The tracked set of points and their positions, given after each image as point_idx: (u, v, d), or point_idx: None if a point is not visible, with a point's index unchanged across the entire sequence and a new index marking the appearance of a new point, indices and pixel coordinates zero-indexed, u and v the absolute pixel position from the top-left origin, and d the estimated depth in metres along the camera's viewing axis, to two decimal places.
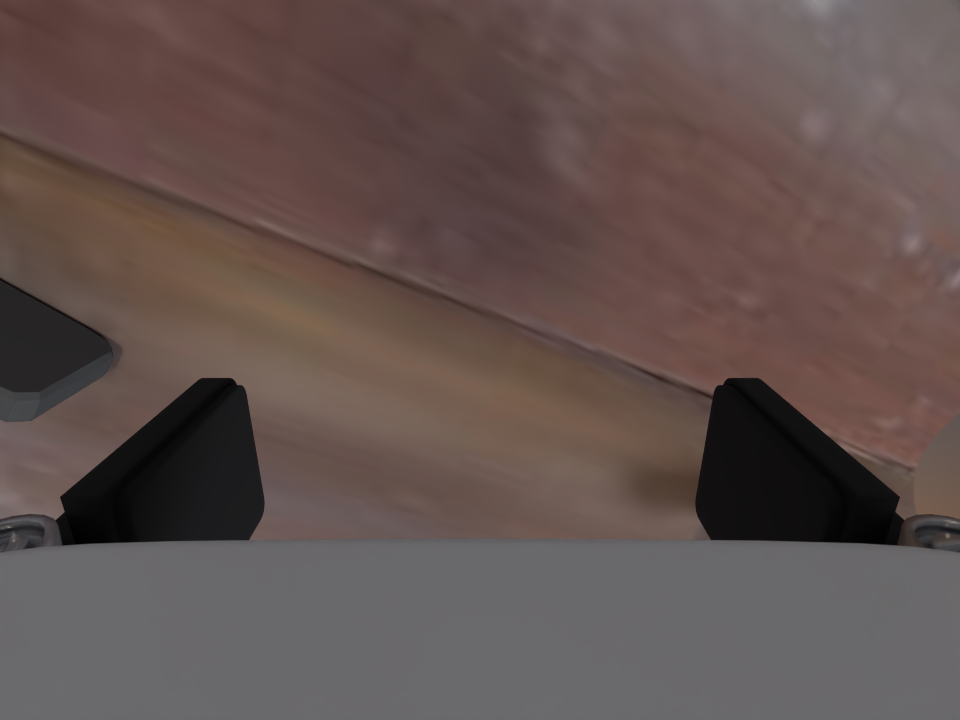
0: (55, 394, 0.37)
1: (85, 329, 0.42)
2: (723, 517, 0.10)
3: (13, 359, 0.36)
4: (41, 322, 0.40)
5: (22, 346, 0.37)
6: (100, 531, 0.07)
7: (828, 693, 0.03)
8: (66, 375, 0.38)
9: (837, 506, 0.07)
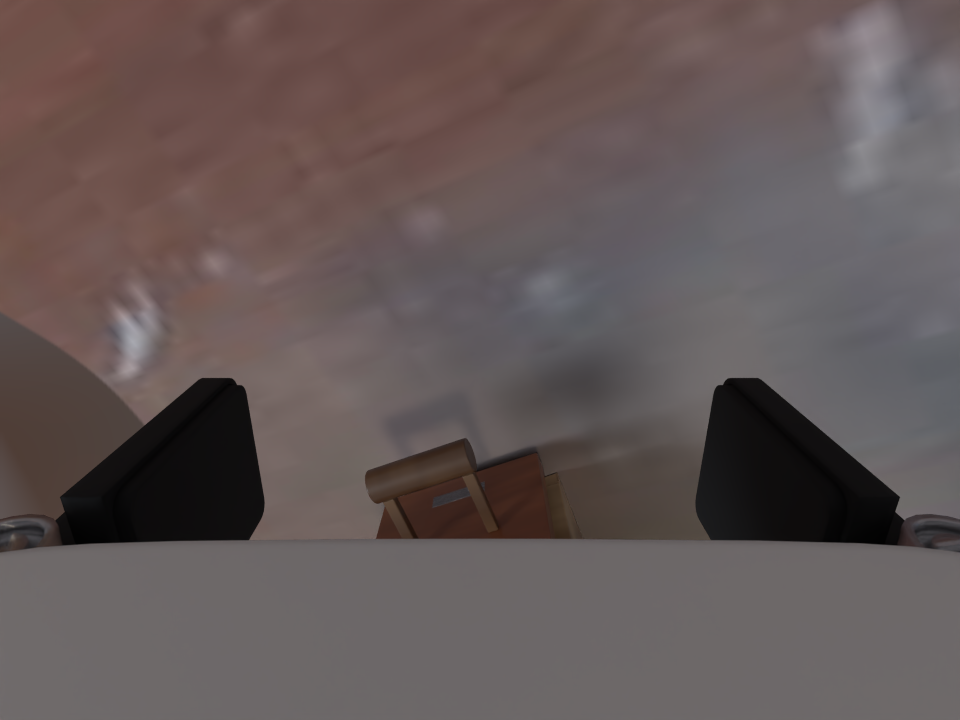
0: None
1: None
2: (723, 517, 0.10)
3: None
4: None
5: None
6: (100, 531, 0.07)
7: (828, 693, 0.03)
8: None
9: (837, 506, 0.07)
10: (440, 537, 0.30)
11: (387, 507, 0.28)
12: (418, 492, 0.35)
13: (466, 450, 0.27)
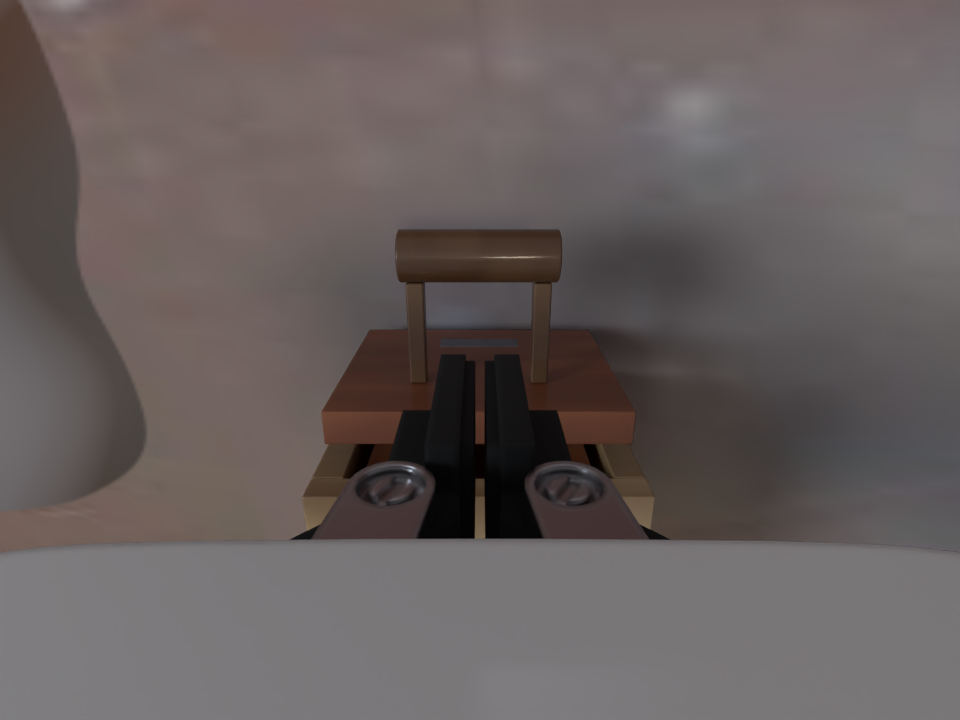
0: None
1: None
2: None
3: None
4: None
5: None
6: (451, 476, 0.08)
7: (827, 693, 0.03)
8: None
9: (492, 455, 0.08)
10: None
11: (409, 293, 0.19)
12: None
13: None
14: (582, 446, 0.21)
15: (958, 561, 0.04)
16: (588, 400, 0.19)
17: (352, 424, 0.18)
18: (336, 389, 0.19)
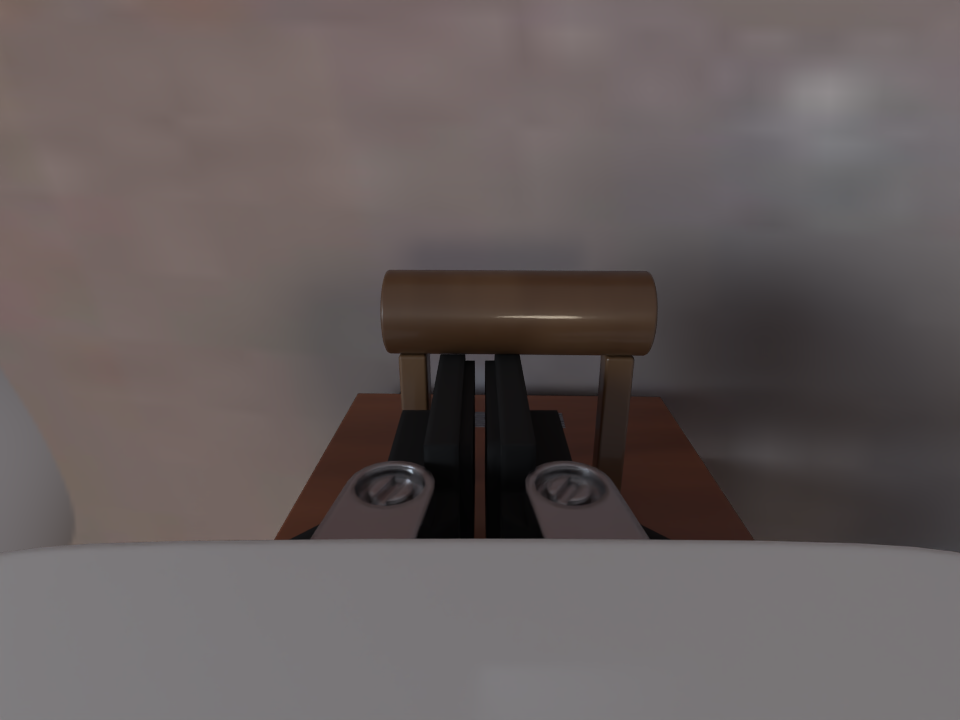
0: None
1: None
2: None
3: None
4: None
5: None
6: (450, 476, 0.08)
7: (828, 693, 0.03)
8: None
9: (492, 455, 0.08)
10: (475, 483, 0.14)
11: (404, 371, 0.12)
12: None
13: None
14: None
15: (959, 561, 0.04)
16: None
17: None
18: (291, 514, 0.12)
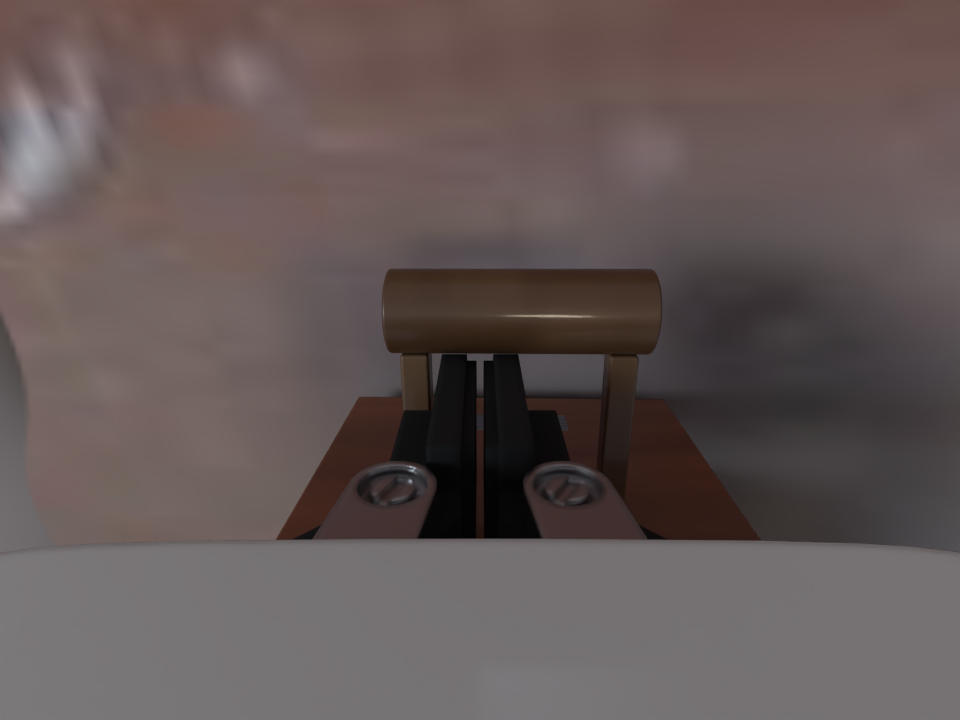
0: None
1: None
2: None
3: None
4: None
5: None
6: (452, 476, 0.08)
7: (828, 693, 0.03)
8: None
9: (491, 455, 0.08)
10: (478, 485, 0.13)
11: (405, 371, 0.12)
12: None
13: None
14: None
15: (958, 561, 0.04)
16: None
17: None
18: (291, 517, 0.12)
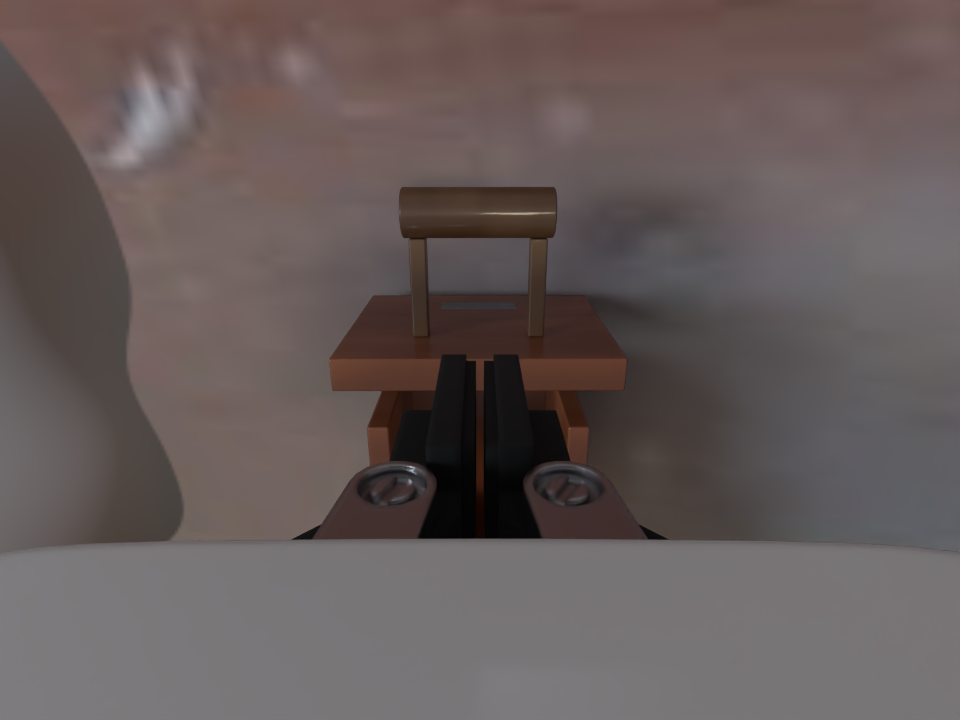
0: None
1: None
2: None
3: None
4: None
5: None
6: (452, 476, 0.08)
7: (828, 693, 0.03)
8: None
9: (491, 455, 0.08)
10: (455, 329, 0.22)
11: (411, 249, 0.20)
12: None
13: None
14: (578, 400, 0.22)
15: (959, 561, 0.04)
16: (582, 349, 0.19)
17: (358, 371, 0.19)
18: (342, 341, 0.20)
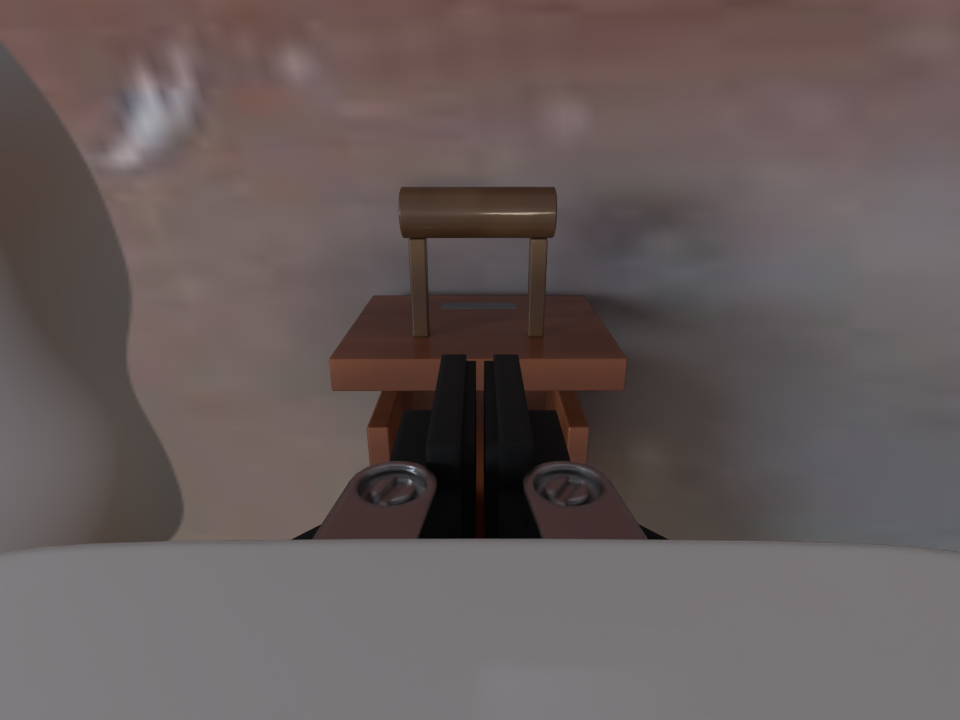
0: None
1: None
2: None
3: None
4: None
5: None
6: (452, 476, 0.08)
7: (828, 693, 0.03)
8: None
9: (491, 455, 0.08)
10: (455, 330, 0.22)
11: (411, 249, 0.20)
12: None
13: None
14: (577, 400, 0.22)
15: (959, 561, 0.04)
16: (582, 349, 0.19)
17: (358, 371, 0.19)
18: (342, 341, 0.20)
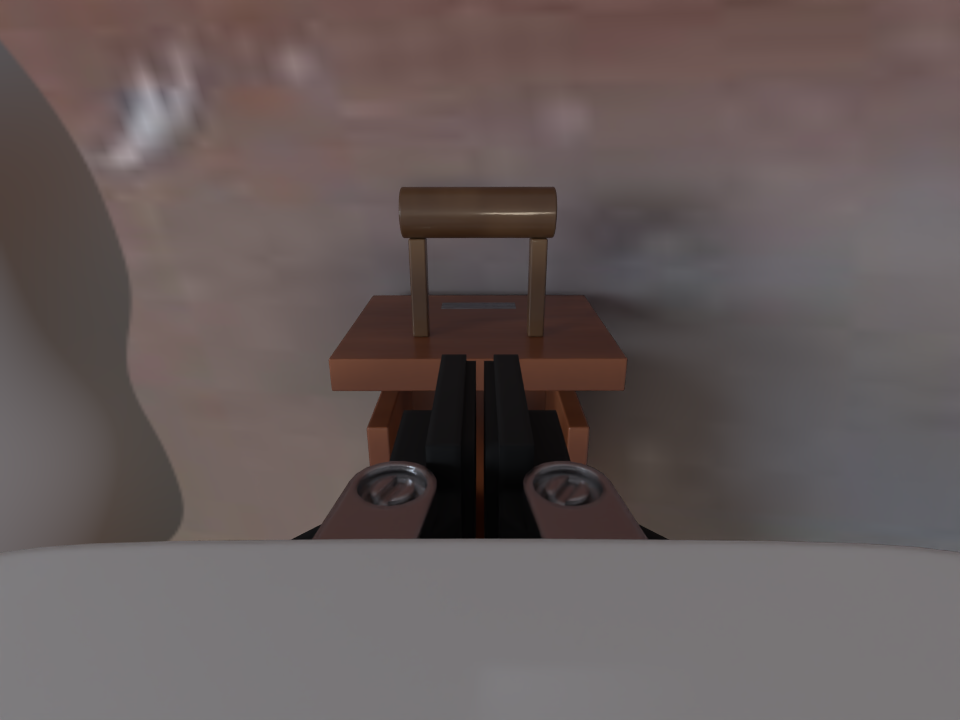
0: None
1: None
2: None
3: None
4: None
5: None
6: (452, 476, 0.08)
7: (828, 693, 0.03)
8: None
9: (491, 455, 0.08)
10: (455, 330, 0.22)
11: (411, 249, 0.20)
12: None
13: None
14: (577, 400, 0.22)
15: (959, 561, 0.04)
16: (582, 349, 0.19)
17: (358, 371, 0.19)
18: (342, 341, 0.20)
